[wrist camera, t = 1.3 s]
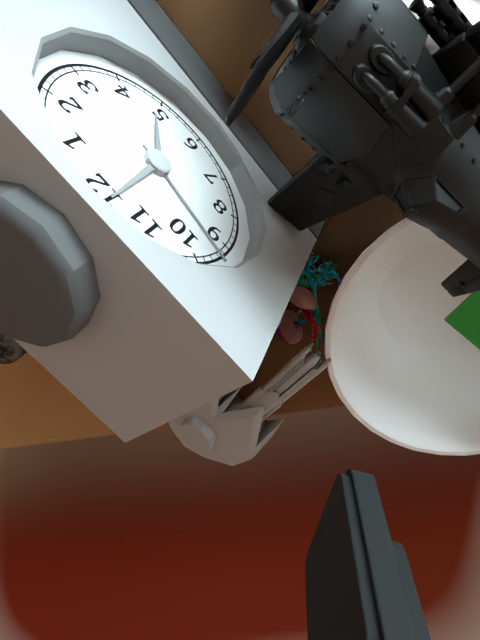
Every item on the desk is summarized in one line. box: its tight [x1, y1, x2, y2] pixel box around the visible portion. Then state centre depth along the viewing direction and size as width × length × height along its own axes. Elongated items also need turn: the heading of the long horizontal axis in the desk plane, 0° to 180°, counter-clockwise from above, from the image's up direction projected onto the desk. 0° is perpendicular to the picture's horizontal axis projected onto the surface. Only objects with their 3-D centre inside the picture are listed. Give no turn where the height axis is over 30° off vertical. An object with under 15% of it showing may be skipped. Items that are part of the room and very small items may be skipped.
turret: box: [168, 318, 331, 466], centre depth 37 cm, size 10×20×5 cm, turn 148°
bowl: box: [324, 218, 480, 456], centre depth 33 cm, size 20×19×8 cm
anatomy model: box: [277, 252, 341, 349], centre depth 35 cm, size 5×8×7 cm, turn 0°
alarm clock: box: [0, 0, 325, 443], centre depth 26 cm, size 20×16×20 cm
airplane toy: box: [225, 0, 480, 297], centre depth 20 cm, size 20×19×15 cm
